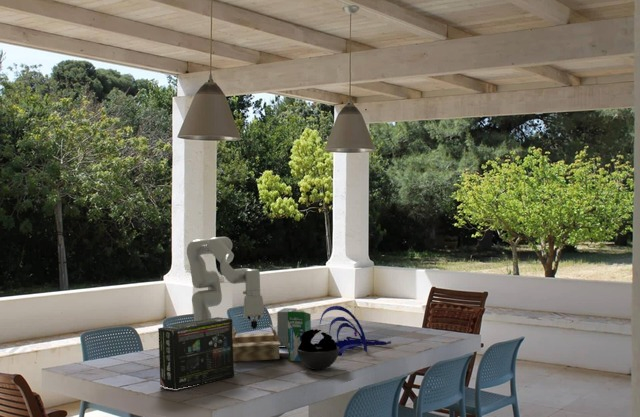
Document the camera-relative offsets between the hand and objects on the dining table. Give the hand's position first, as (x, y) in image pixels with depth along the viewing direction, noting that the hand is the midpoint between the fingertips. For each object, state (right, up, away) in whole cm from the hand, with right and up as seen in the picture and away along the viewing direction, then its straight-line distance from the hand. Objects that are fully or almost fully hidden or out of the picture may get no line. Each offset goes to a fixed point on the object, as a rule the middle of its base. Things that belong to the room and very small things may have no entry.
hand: (254, 328), depth 387 cm
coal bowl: (+33, -15, -31) cm, 48 cm away
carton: (0, -15, +1) cm, 15 cm away
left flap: (-12, -5, -2) cm, 13 cm away
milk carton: (+24, -15, -8) cm, 29 cm away
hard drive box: (+16, -14, +29) cm, 36 cm away
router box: (-21, -16, -52) cm, 58 cm away
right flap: (+11, -5, +3) cm, 12 cm away
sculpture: (+48, -14, +18) cm, 53 cm away
